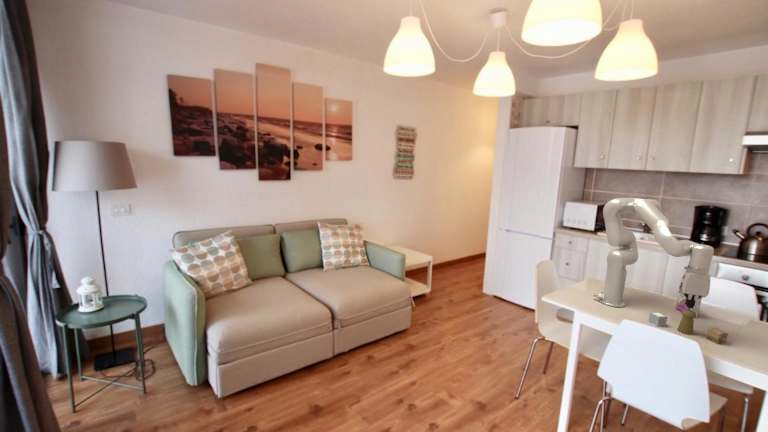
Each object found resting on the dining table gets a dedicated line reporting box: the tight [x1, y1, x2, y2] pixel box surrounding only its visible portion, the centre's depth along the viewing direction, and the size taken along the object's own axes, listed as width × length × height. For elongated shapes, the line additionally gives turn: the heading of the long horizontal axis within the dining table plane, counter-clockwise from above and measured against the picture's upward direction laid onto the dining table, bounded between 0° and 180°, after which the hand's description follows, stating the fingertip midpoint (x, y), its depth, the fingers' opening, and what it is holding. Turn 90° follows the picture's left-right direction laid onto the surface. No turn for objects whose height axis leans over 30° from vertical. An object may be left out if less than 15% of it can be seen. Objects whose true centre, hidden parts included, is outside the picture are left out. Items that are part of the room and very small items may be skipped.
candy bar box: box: [675, 293, 703, 319], centre depth 192 cm, size 11×5×16 cm, turn 168°
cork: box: [676, 310, 696, 336], centre depth 171 cm, size 6×6×11 cm
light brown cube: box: [705, 327, 729, 345], centre depth 164 cm, size 5×5×5 cm
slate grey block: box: [647, 311, 668, 327], centre depth 179 cm, size 5×5×5 cm
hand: (689, 306), depth 170 cm, fingers closed
